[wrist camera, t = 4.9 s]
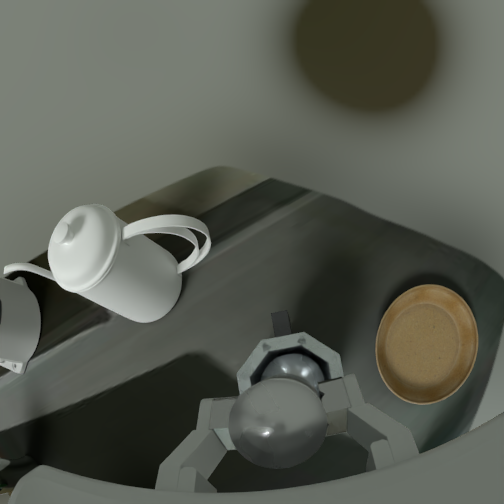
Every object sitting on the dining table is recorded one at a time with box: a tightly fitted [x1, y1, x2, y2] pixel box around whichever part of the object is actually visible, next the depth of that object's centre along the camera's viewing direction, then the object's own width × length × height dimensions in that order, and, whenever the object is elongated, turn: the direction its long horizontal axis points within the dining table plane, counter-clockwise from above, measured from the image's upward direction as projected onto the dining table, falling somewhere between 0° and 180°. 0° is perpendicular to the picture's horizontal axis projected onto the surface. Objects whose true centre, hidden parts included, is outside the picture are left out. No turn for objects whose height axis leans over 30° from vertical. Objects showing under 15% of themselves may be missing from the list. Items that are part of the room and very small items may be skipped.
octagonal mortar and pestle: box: [237, 310, 344, 395], centre depth 28 cm, size 9×11×12 cm
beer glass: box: [0, 455, 40, 495], centre depth 24 cm, size 7×7×15 cm
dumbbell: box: [228, 354, 327, 469], centre depth 16 cm, size 5×5×17 cm
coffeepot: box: [4, 204, 211, 323], centre depth 31 cm, size 11×25×19 cm, turn 103°
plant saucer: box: [375, 284, 478, 405], centre depth 30 cm, size 15×15×3 cm
